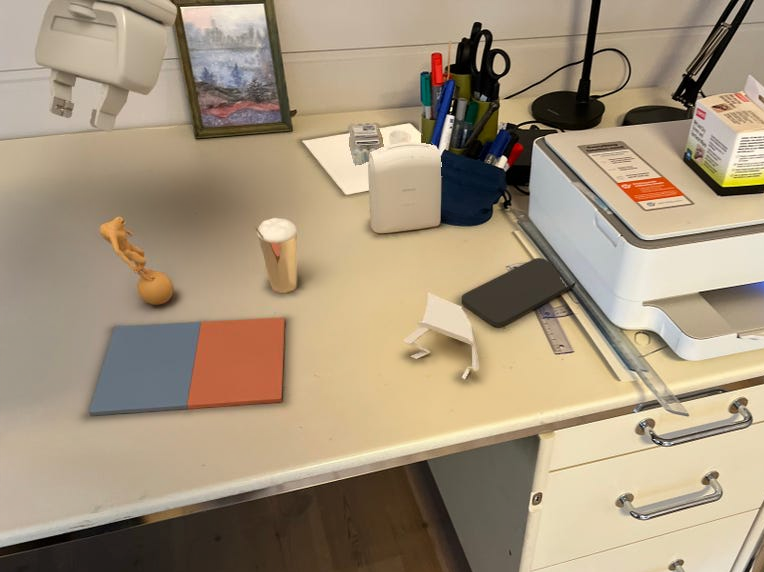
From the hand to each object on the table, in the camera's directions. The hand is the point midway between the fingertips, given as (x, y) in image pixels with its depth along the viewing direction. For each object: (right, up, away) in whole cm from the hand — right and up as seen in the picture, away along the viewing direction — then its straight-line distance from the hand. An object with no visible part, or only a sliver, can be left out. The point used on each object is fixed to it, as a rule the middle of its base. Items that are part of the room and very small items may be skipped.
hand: (79, 122), depth 81 cm
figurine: (+3, -19, +10) cm, 22 cm away
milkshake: (+18, -17, +14) cm, 28 cm away
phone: (+48, -17, +16) cm, 54 cm away
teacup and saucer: (+27, +8, +43) cm, 52 cm away
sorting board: (+12, -26, +2) cm, 29 cm away
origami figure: (+39, -25, +7) cm, 47 cm away
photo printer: (+32, -6, +28) cm, 43 cm away
